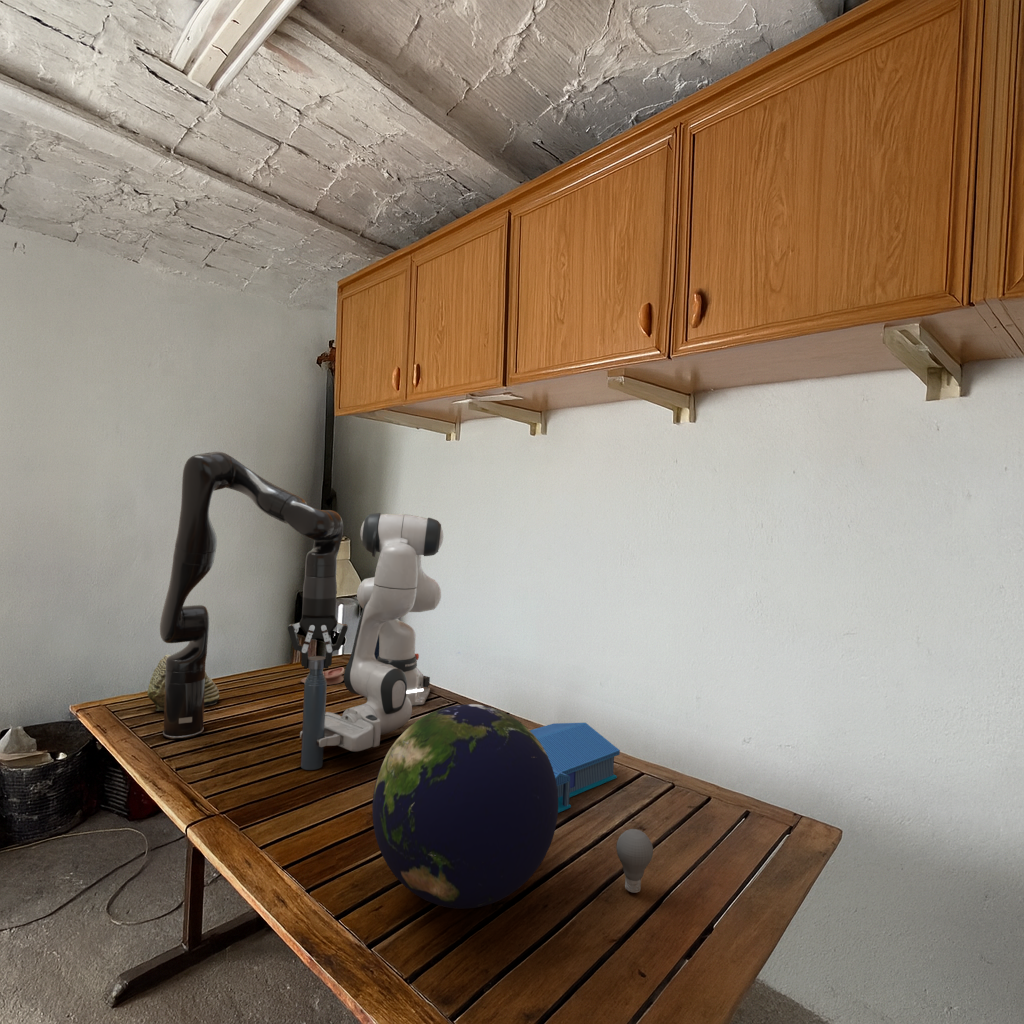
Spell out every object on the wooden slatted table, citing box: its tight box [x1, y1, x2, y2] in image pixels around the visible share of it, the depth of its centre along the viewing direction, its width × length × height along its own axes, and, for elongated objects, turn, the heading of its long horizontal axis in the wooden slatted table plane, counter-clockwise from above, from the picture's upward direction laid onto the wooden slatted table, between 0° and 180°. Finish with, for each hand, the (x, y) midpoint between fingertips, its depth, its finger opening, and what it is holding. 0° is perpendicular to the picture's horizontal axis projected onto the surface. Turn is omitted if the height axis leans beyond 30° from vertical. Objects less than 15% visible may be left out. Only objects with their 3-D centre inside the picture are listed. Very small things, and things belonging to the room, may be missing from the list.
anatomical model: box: [300, 666, 345, 686], centre depth 215 cm, size 13×4×12 cm
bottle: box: [300, 668, 328, 771], centre depth 149 cm, size 5×5×24 cm
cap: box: [307, 655, 326, 670], centre depth 149 cm, size 4×4×2 cm
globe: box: [371, 703, 559, 910], centre depth 103 cm, size 30×30×30 cm
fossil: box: [147, 654, 221, 712], centre depth 185 cm, size 9×18×15 cm, turn 132°
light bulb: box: [615, 828, 654, 894], centre depth 106 cm, size 6×6×10 cm
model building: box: [529, 722, 621, 814], centre depth 143 cm, size 39×24×10 cm, turn 132°
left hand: (316, 667), depth 148 cm, fingers closed on cap, 4 cm apart
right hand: (310, 739), depth 148 cm, fingers closed on bottle, 5 cm apart
